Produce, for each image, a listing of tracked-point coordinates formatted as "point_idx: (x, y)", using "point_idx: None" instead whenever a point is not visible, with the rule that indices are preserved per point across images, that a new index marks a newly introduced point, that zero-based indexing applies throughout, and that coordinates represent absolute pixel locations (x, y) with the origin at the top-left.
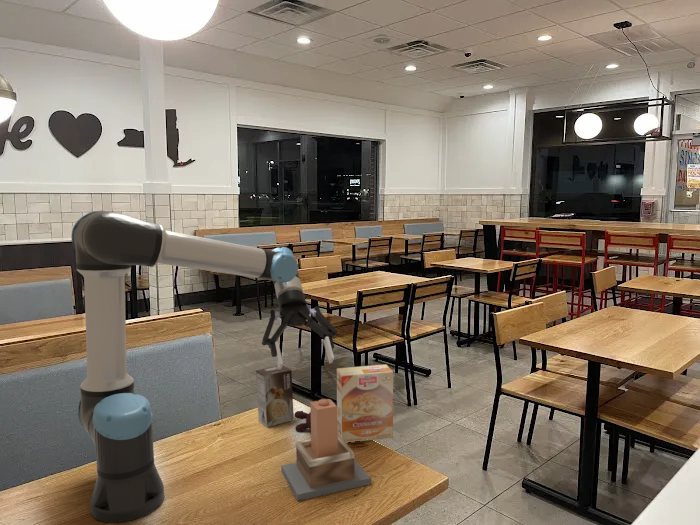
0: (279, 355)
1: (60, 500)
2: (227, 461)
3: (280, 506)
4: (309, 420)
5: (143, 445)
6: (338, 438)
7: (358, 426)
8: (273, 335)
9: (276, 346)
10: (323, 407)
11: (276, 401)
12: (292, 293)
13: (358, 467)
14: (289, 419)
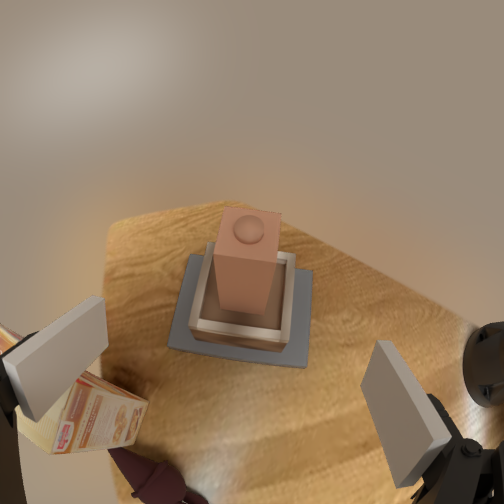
0: (403, 370)
1: None
2: (379, 442)
3: (335, 275)
4: (181, 484)
5: None
6: (198, 306)
7: (106, 382)
8: (474, 484)
9: (435, 411)
10: (260, 215)
11: None
12: None
13: (185, 289)
14: None
